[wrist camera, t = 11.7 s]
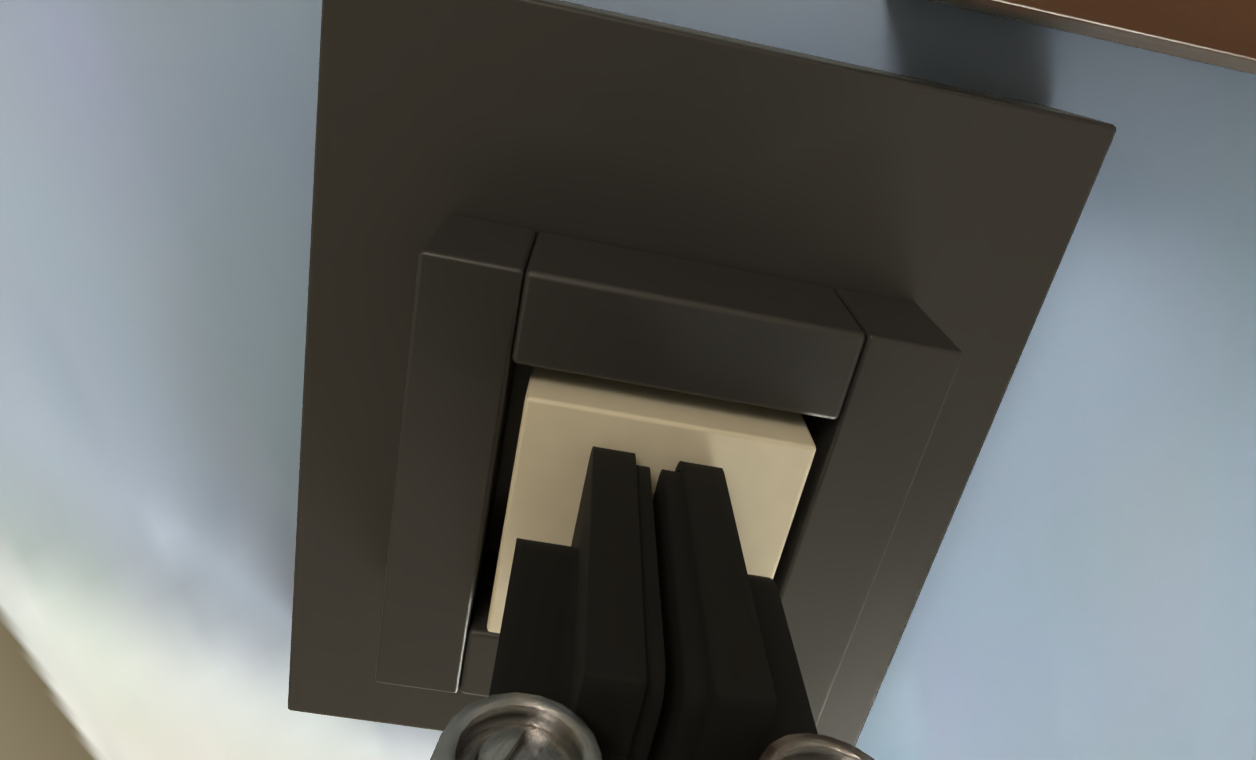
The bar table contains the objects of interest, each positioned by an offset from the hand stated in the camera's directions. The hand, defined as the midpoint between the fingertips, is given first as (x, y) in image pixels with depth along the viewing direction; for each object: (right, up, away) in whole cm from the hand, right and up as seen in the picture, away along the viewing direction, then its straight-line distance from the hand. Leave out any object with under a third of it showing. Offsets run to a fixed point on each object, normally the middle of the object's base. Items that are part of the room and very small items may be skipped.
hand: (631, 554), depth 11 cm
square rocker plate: (0, +2, +3) cm, 4 cm away
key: (0, +1, +2) cm, 2 cm away
